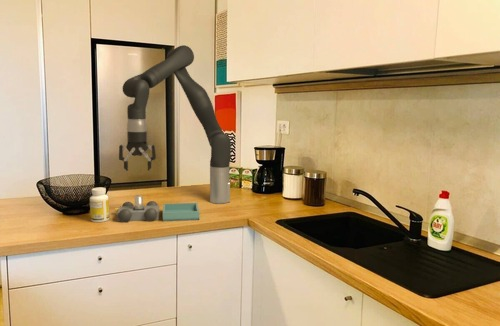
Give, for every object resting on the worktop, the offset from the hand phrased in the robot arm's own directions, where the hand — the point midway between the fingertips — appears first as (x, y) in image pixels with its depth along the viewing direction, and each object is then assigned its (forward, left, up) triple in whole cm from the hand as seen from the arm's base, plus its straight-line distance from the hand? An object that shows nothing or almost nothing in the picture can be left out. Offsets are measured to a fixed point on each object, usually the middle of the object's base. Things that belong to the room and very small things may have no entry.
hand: (137, 170), depth 167 cm
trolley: (+1, 0, -20) cm, 20 cm away
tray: (-17, 0, -20) cm, 26 cm away
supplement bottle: (+15, +2, -20) cm, 25 cm away
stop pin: (0, 0, -20) cm, 20 cm away
